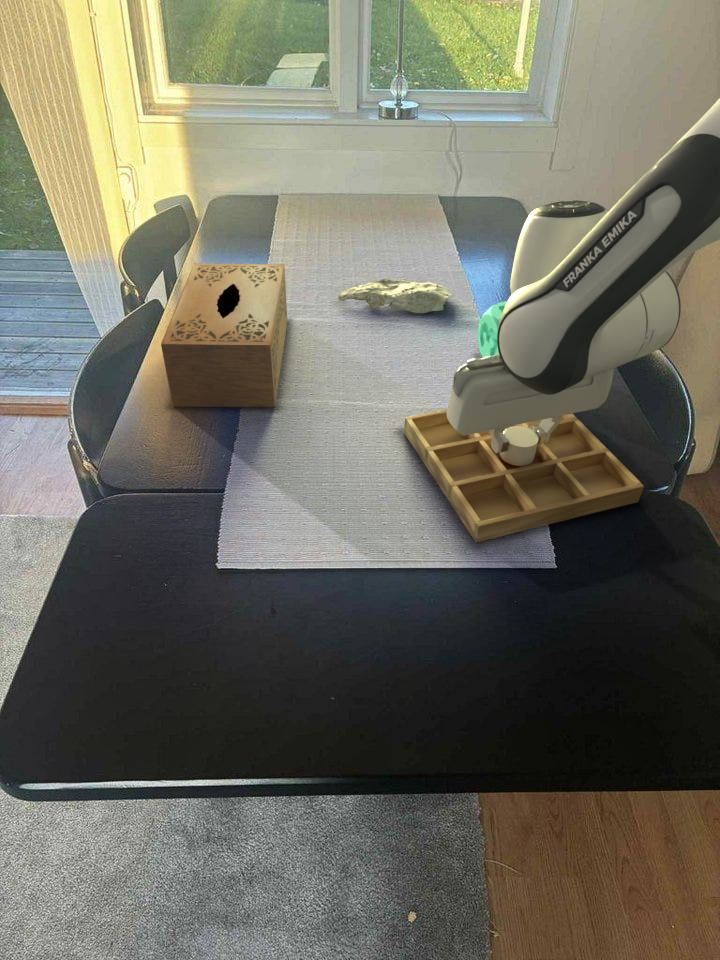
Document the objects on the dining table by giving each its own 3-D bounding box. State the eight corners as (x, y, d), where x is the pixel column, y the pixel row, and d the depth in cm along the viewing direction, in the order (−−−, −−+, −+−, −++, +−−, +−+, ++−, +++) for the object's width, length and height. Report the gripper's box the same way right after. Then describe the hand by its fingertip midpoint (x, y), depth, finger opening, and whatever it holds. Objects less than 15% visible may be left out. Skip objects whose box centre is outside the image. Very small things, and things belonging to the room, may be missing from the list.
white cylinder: (541, 462, 88) (545, 443, 86) (509, 469, 87) (513, 450, 85) (523, 441, 91) (527, 423, 89) (493, 448, 90) (496, 429, 88)
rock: (339, 302, 124) (339, 289, 122) (355, 278, 132) (355, 265, 131) (443, 316, 120) (445, 302, 119) (453, 290, 129) (455, 277, 127)
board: (638, 502, 85) (644, 486, 83) (475, 542, 79) (478, 526, 78) (545, 404, 101) (548, 389, 99) (403, 432, 95) (404, 416, 93)
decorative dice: (519, 343, 114) (527, 297, 109) (542, 368, 108) (552, 321, 103) (474, 349, 112) (480, 303, 107) (495, 375, 107) (503, 328, 101)
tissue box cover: (275, 407, 99) (270, 345, 93) (172, 406, 99) (160, 344, 92) (287, 320, 119) (284, 264, 112) (202, 319, 118) (194, 263, 112)
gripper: (468, 377, 74) (455, 477, 83) (631, 347, 79) (602, 444, 88) (443, 348, 79) (433, 446, 87) (599, 322, 84) (575, 417, 93)
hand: (519, 445), depth 88 cm, fingers closed on white cylinder, 4 cm apart
